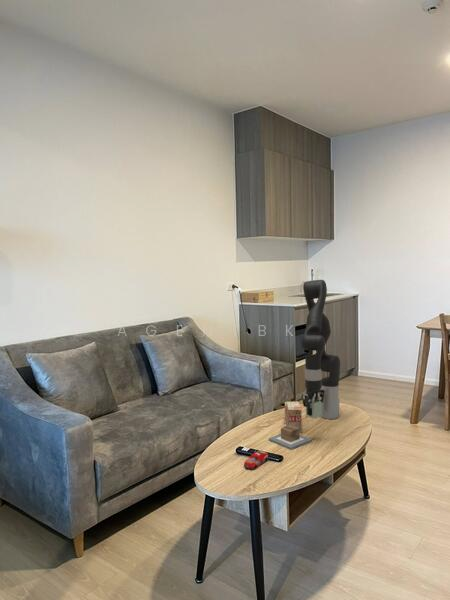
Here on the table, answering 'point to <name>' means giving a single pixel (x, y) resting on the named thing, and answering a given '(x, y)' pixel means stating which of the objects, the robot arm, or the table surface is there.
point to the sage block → (315, 409)
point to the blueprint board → (273, 439)
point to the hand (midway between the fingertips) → (313, 413)
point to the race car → (256, 460)
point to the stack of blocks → (293, 414)
